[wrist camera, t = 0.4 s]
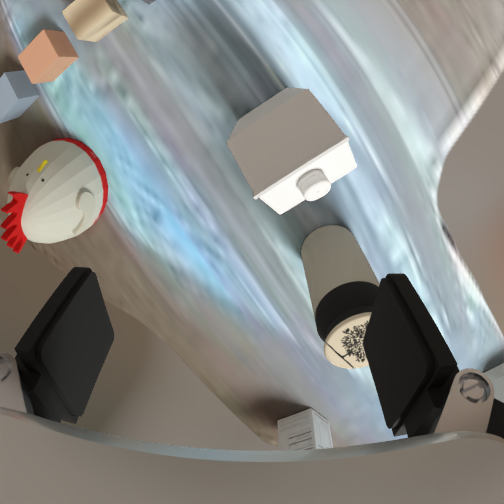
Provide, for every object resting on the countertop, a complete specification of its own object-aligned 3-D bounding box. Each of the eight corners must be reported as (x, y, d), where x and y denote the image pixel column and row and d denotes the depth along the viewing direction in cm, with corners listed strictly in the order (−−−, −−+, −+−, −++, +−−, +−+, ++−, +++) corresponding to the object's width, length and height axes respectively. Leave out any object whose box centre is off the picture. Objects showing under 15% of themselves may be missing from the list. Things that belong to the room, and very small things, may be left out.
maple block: (81, 16, 27) (61, 11, 23) (112, -8, 26) (94, -16, 22) (97, 42, 29) (77, 39, 25) (128, 18, 28) (112, 11, 24)
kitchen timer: (117, 153, 37) (55, 193, 24) (100, 240, 43) (51, 304, 30) (37, 128, 35) (-36, 158, 22) (28, 212, 41) (-30, 261, 28)
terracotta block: (39, 56, 29) (17, 56, 25) (64, 31, 28) (43, 29, 24) (53, 81, 31) (32, 83, 27) (79, 57, 30) (58, 56, 26)
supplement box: (276, 419, 66) (278, 484, 51) (311, 406, 63) (318, 474, 49) (297, 433, 70) (301, 492, 55) (330, 421, 67) (338, 482, 52)
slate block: (7, 92, 31) (-15, 97, 27) (26, 70, 30) (4, 72, 26) (20, 116, 33) (-2, 123, 29) (40, 94, 32) (18, 99, 28)
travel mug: (341, 213, 41) (388, 298, 25) (364, 257, 44) (409, 348, 28) (290, 242, 43) (307, 338, 27) (317, 282, 46) (340, 380, 31)
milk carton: (237, 120, 35) (219, 154, 19) (287, 86, 33) (318, 89, 16) (272, 166, 38) (284, 239, 21) (321, 135, 36) (375, 184, 19)
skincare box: (504, 361, 59) (527, 402, 47) (499, 373, 62) (520, 413, 49) (480, 373, 61) (502, 417, 48) (476, 385, 64) (495, 427, 51)
